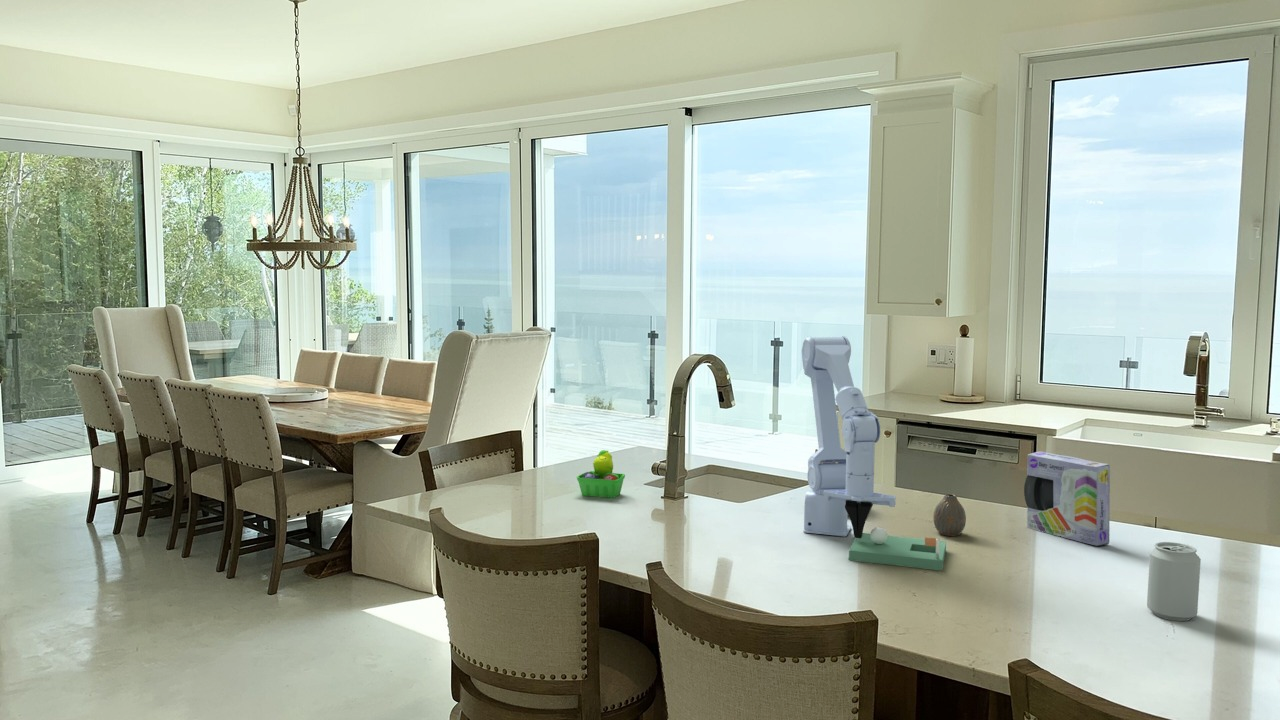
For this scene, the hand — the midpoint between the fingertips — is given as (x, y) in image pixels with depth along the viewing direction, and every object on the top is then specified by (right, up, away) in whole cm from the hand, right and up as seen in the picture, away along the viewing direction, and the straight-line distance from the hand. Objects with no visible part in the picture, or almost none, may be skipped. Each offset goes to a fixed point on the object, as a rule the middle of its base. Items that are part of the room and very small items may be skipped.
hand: (858, 536), depth 194 cm
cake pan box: (+49, -2, +12) cm, 50 cm away
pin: (+12, -4, -11) cm, 17 cm away
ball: (+4, -1, -1) cm, 4 cm away
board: (+8, -3, -3) cm, 9 cm away
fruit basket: (-56, +1, +50) cm, 75 cm away
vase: (+24, -2, +14) cm, 27 cm away
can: (+45, -7, -35) cm, 58 cm away
